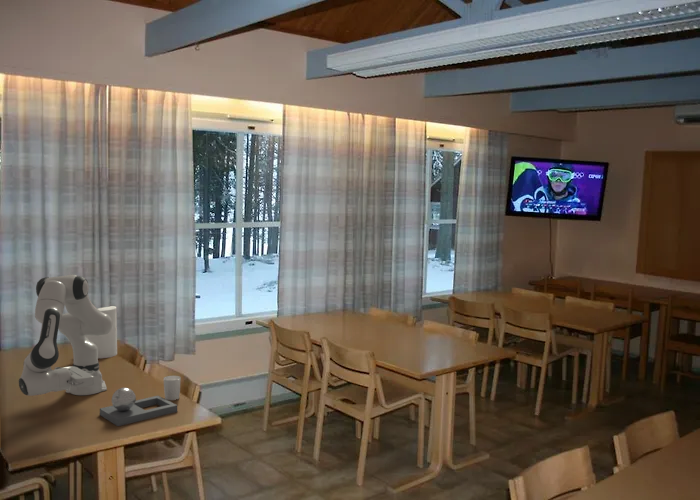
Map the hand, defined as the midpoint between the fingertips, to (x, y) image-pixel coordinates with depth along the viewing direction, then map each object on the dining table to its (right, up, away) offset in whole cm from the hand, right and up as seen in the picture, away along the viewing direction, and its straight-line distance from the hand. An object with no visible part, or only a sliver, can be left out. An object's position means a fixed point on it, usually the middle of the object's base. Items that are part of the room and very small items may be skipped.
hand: (96, 373), depth 285 cm
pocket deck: (+13, -21, +15) cm, 29 cm away
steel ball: (+8, -13, +10) cm, 18 cm away
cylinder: (-39, -10, +113) cm, 120 cm away
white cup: (+22, -19, +37) cm, 47 cm away
